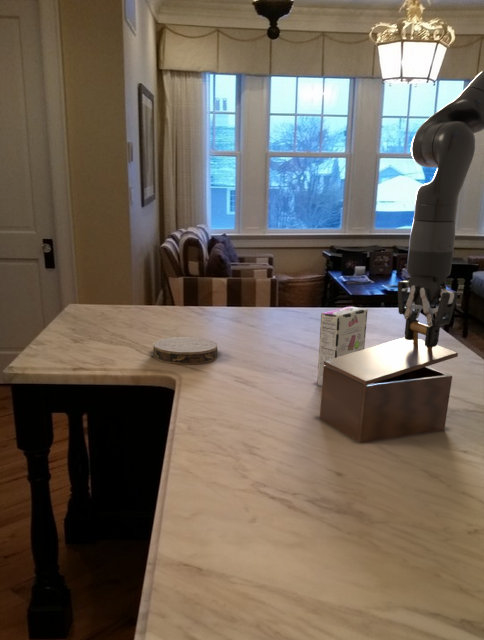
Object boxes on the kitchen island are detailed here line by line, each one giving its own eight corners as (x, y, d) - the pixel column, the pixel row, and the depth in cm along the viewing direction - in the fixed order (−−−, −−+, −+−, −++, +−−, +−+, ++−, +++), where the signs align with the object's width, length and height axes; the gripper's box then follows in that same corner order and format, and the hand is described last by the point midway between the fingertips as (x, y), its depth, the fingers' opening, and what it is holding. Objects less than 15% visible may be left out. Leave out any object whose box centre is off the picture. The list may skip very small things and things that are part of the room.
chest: (398, 409, 141) (405, 357, 137) (444, 432, 130) (452, 375, 126) (319, 420, 134) (323, 365, 130) (359, 445, 122) (366, 386, 118)
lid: (409, 339, 136) (409, 313, 134) (457, 356, 125) (458, 328, 123) (323, 365, 130) (321, 338, 128) (366, 385, 118) (364, 357, 116)
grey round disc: (156, 365, 167) (156, 353, 165) (150, 348, 181) (150, 337, 180) (222, 363, 170) (223, 351, 169) (211, 347, 184) (211, 336, 183)
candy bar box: (343, 377, 162) (350, 305, 156) (362, 381, 159) (369, 309, 153) (314, 386, 154) (320, 312, 148) (333, 391, 151) (340, 315, 145)
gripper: (477, 251, 118) (463, 350, 124) (421, 242, 130) (412, 332, 136) (441, 253, 115) (429, 354, 121) (388, 243, 127) (380, 336, 133)
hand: (420, 342), depth 129 cm, fingers closed on lid, 5 cm apart
